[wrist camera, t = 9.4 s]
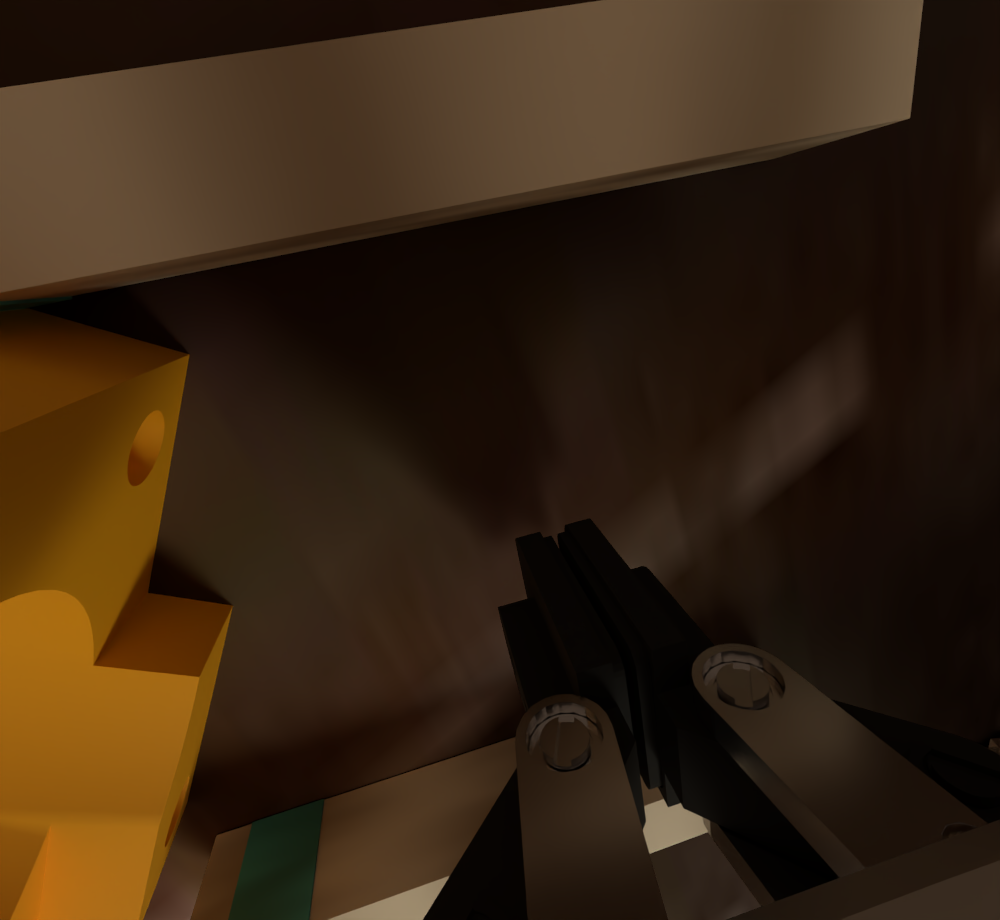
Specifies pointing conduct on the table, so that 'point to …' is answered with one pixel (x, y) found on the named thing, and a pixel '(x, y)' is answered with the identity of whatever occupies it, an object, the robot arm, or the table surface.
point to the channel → (406, 206)
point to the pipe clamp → (91, 623)
